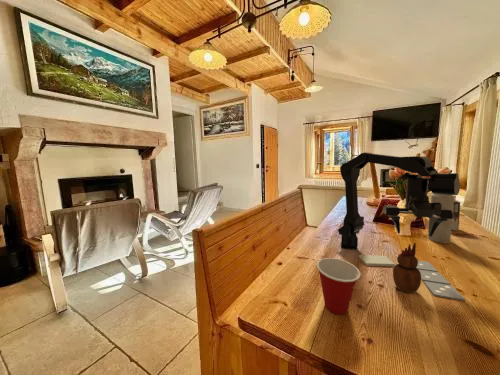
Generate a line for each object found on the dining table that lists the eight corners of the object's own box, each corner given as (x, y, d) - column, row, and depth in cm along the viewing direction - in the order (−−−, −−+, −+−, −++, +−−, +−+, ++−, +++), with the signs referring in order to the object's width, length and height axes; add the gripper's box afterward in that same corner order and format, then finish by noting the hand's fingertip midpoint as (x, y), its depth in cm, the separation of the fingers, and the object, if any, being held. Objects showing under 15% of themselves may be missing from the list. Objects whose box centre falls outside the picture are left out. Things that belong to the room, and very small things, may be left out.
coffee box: (455, 227, 116) (457, 200, 114) (458, 231, 111) (461, 202, 109) (434, 225, 121) (436, 199, 119) (436, 228, 116) (438, 201, 114)
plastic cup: (348, 330, 48) (349, 283, 46) (308, 307, 56) (308, 266, 54) (365, 308, 55) (367, 267, 53) (328, 290, 63) (328, 254, 61)
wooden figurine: (416, 286, 63) (419, 241, 62) (422, 297, 58) (426, 248, 57) (390, 281, 66) (392, 238, 65) (394, 291, 61) (397, 244, 59)
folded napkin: (366, 265, 77) (366, 263, 77) (359, 257, 84) (359, 255, 84) (394, 266, 76) (394, 264, 76) (384, 258, 83) (384, 255, 82)
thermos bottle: (425, 236, 105) (428, 183, 101) (444, 237, 102) (448, 183, 99) (433, 242, 97) (437, 184, 94) (454, 243, 94) (459, 184, 91)
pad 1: (413, 269, 74) (413, 267, 74) (406, 260, 80) (406, 259, 80) (437, 272, 71) (437, 271, 71) (428, 263, 77) (429, 261, 77)
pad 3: (433, 295, 59) (433, 293, 59) (423, 282, 65) (423, 281, 65) (465, 301, 56) (465, 299, 56) (451, 286, 63) (451, 285, 63)
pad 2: (422, 280, 66) (422, 279, 66) (414, 270, 73) (414, 269, 73) (449, 285, 64) (450, 283, 64) (439, 273, 70) (439, 272, 70)
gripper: (391, 194, 67) (389, 239, 68) (465, 196, 60) (461, 246, 61) (383, 190, 77) (381, 229, 79) (446, 191, 70) (442, 234, 72)
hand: (413, 234), depth 72 cm, fingers open, 9 cm apart
